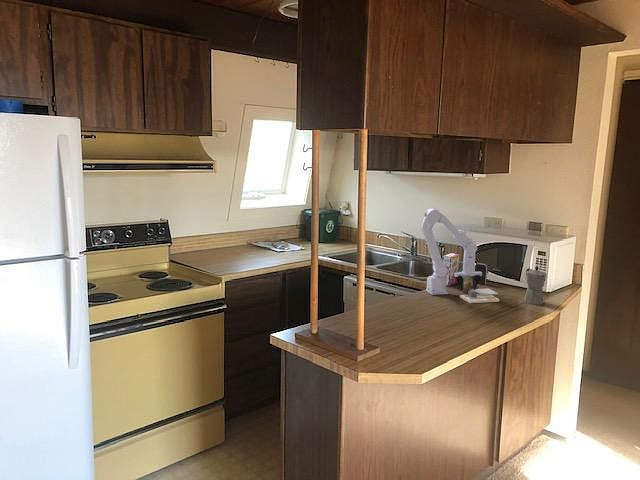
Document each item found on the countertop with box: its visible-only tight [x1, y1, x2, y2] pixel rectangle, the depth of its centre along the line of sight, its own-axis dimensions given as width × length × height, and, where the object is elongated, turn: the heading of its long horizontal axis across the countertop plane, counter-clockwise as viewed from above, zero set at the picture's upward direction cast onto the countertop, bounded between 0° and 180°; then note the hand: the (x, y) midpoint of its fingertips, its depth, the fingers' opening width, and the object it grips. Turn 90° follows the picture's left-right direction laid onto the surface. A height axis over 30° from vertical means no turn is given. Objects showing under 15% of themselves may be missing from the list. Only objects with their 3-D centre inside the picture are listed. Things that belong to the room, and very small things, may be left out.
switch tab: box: [468, 290, 477, 298], centre depth 259 cm, size 3×3×3 cm
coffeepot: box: [523, 266, 547, 306], centre depth 257 cm, size 15×9×18 cm, turn 8°
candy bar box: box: [442, 253, 460, 287], centre depth 288 cm, size 11×5×16 cm, turn 141°
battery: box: [474, 262, 489, 285], centre depth 291 cm, size 7×4×11 cm, turn 45°
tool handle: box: [462, 281, 472, 295], centre depth 270 cm, size 4×4×6 cm
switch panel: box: [459, 294, 500, 304], centre depth 260 cm, size 16×10×2 cm, turn 102°
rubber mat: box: [471, 288, 499, 296], centre depth 273 cm, size 10×10×1 cm
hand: (467, 289), depth 270 cm, fingers open, 7 cm apart
